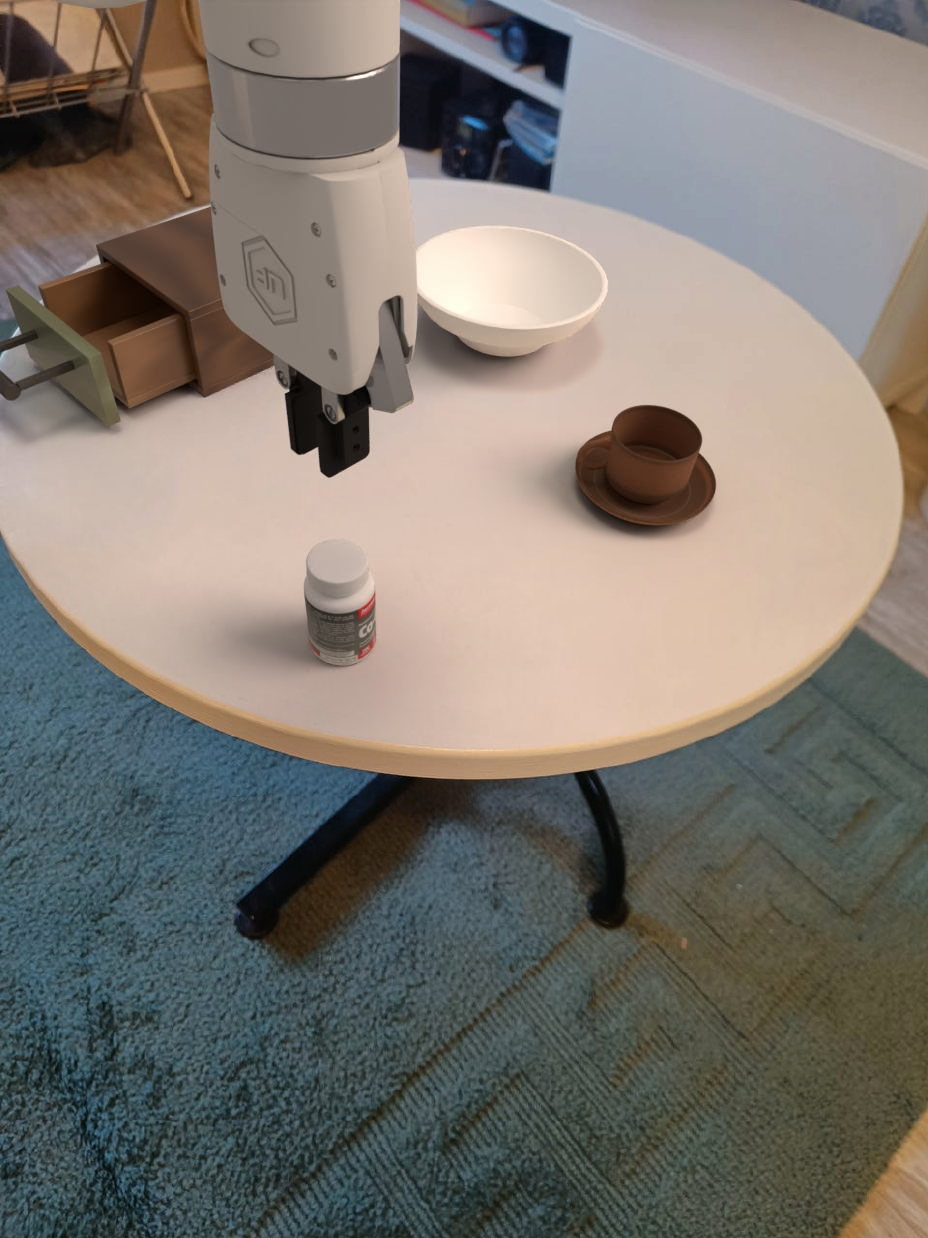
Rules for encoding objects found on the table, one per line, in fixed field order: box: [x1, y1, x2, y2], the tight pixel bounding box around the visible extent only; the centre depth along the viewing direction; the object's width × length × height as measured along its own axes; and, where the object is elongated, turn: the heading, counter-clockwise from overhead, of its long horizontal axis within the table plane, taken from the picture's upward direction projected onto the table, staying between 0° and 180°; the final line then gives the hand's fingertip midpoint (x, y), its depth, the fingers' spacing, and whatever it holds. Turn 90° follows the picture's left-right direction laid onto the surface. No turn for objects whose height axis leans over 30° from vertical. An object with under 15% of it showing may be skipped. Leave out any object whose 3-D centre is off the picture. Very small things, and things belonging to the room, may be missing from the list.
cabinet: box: [95, 206, 275, 398], centre depth 83 cm, size 16×15×9 cm
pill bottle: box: [303, 538, 377, 667], centre depth 59 cm, size 5×5×8 cm
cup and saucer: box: [574, 404, 717, 526], centre depth 73 cm, size 12×12×6 cm
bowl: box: [416, 224, 609, 358], centre depth 86 cm, size 20×20×7 cm
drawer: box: [0, 261, 197, 427], centre depth 77 cm, size 21×13×7 cm, turn 136°
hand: (330, 452), depth 49 cm, fingers closed
